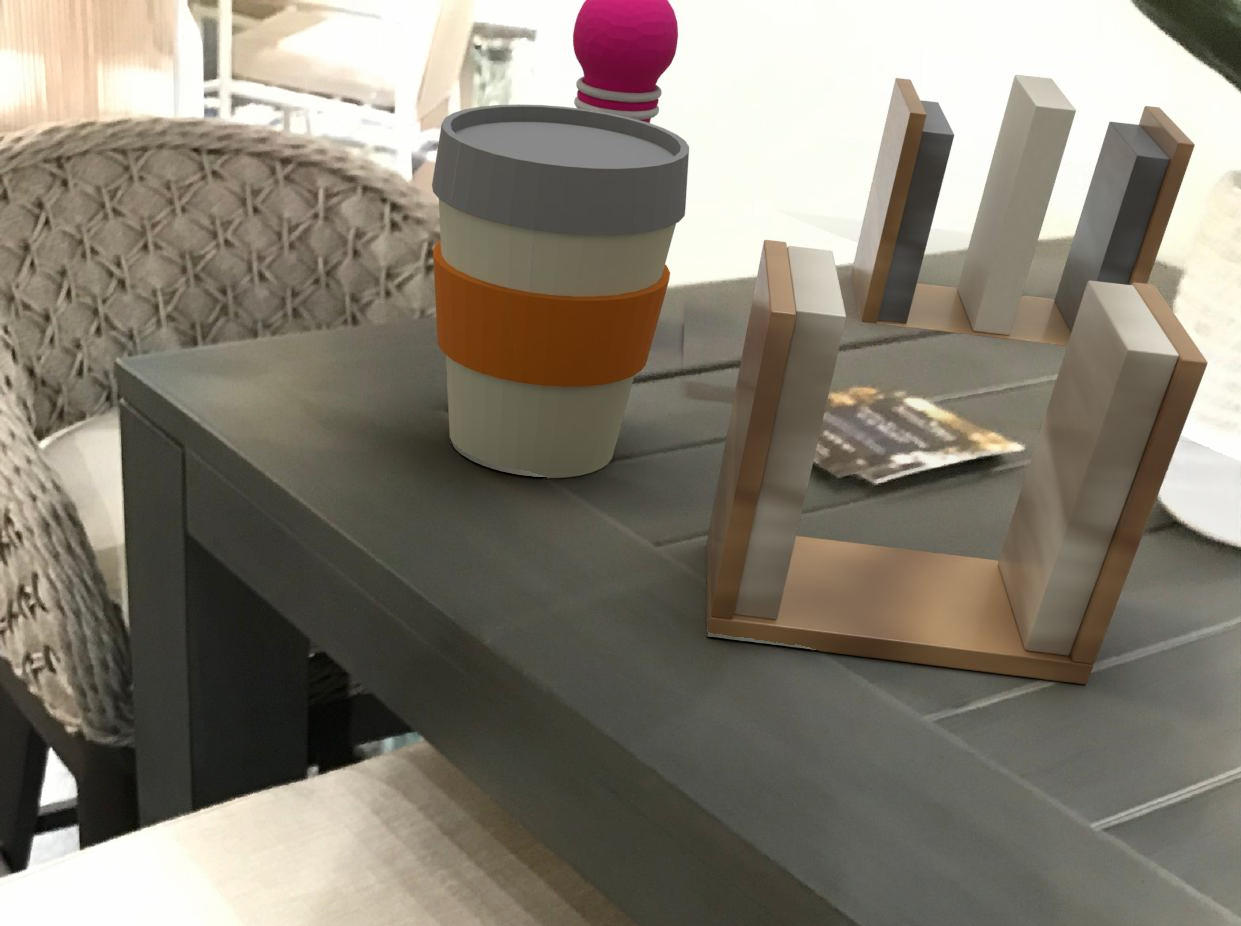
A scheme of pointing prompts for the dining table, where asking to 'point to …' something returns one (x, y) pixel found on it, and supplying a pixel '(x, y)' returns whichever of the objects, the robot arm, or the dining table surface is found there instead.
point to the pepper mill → (623, 55)
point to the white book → (1014, 202)
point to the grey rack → (1101, 248)
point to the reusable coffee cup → (550, 276)
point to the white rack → (932, 582)
